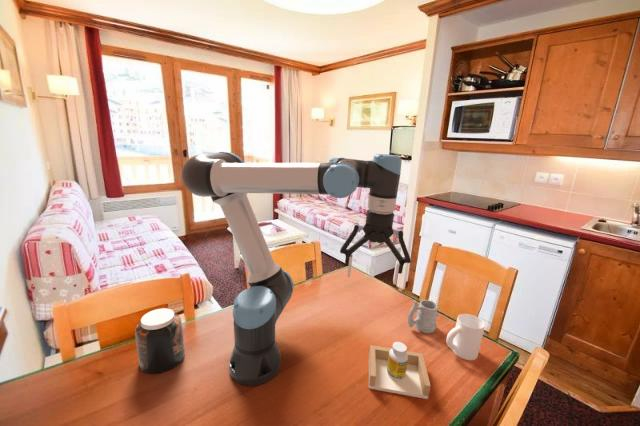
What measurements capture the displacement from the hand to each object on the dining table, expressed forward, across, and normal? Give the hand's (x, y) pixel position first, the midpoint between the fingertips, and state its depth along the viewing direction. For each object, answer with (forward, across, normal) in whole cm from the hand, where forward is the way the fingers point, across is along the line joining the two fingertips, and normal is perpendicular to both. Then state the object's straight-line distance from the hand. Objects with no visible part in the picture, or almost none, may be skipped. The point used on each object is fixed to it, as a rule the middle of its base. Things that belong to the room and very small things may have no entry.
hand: (371, 278), depth 85 cm
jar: (+29, -59, -18) cm, 68 cm away
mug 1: (+27, +21, +19) cm, 39 cm away
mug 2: (+27, +32, +9) cm, 43 cm away
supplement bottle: (+26, +10, -7) cm, 29 cm away
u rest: (+27, +11, -7) cm, 30 cm away
